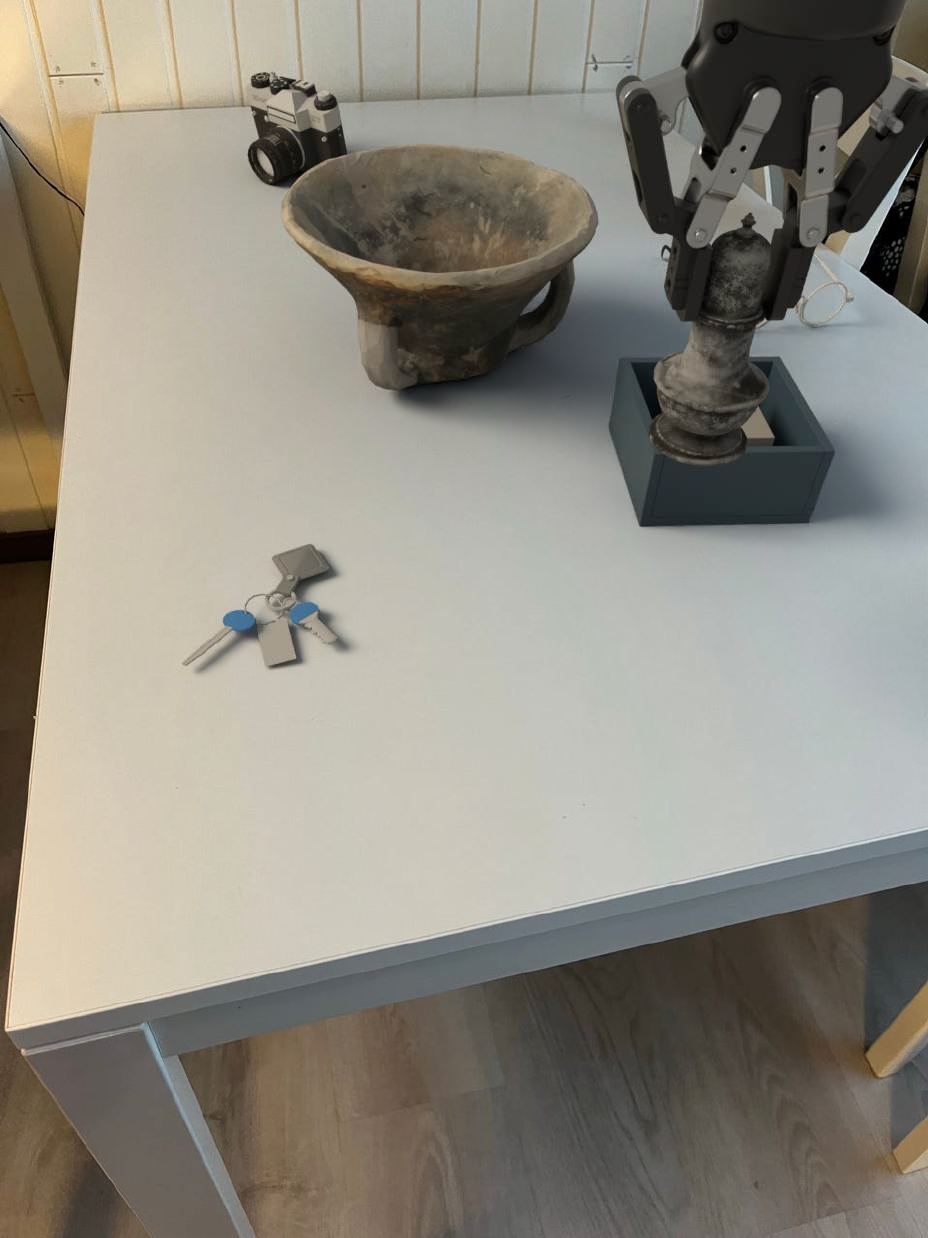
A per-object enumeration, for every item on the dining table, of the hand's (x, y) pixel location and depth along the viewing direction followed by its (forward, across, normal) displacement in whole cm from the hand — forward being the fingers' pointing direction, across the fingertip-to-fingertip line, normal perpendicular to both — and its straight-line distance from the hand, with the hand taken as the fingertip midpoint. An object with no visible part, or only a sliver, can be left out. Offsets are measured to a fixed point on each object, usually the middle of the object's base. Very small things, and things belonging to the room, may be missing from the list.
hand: (727, 311), depth 46 cm
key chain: (+25, -24, +5) cm, 35 cm away
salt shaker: (+7, 0, 0) cm, 7 cm away
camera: (+25, -28, +86) cm, 94 cm away
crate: (+25, +10, +21) cm, 34 cm away
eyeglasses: (+25, +23, +52) cm, 63 cm away
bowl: (+25, -11, +40) cm, 48 cm away
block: (+24, +10, +20) cm, 33 cm away
